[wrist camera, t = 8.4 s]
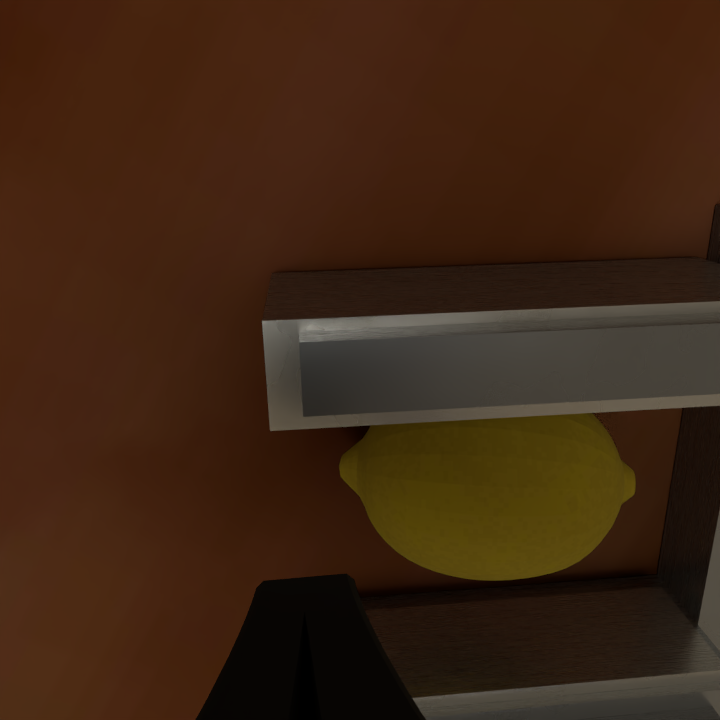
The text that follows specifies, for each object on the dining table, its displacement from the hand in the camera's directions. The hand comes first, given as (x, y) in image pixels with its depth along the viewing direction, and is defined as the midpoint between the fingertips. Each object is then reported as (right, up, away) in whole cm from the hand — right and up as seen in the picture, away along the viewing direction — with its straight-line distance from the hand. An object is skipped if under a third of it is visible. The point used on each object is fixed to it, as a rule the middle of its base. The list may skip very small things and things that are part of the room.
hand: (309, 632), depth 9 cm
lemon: (0, +1, +9) cm, 9 cm away
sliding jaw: (+5, +6, +10) cm, 12 cm away
